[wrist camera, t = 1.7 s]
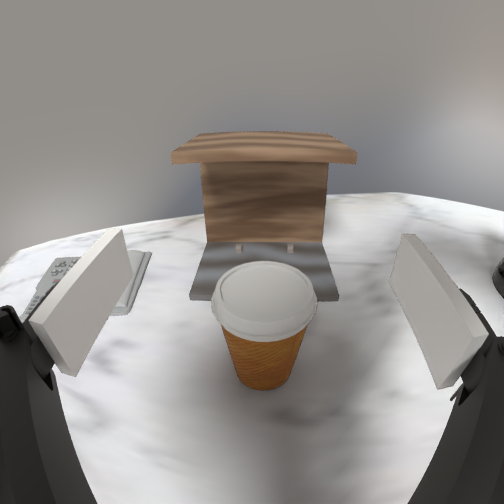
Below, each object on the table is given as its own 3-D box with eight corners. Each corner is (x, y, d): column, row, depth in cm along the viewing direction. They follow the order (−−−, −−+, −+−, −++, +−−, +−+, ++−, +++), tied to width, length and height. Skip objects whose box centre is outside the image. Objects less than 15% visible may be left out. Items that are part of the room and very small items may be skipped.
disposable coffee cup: (217, 344, 34) (205, 264, 28) (290, 332, 36) (298, 253, 30) (228, 409, 26) (215, 335, 20) (315, 392, 28) (336, 313, 22)
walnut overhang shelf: (337, 300, 41) (359, 154, 30) (190, 299, 42) (168, 154, 31) (319, 241, 56) (327, 133, 45) (209, 241, 57) (200, 133, 46)
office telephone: (150, 244, 53) (126, 316, 36) (152, 256, 54) (131, 329, 37) (54, 252, 51) (11, 313, 33) (57, 263, 52) (17, 325, 35)
